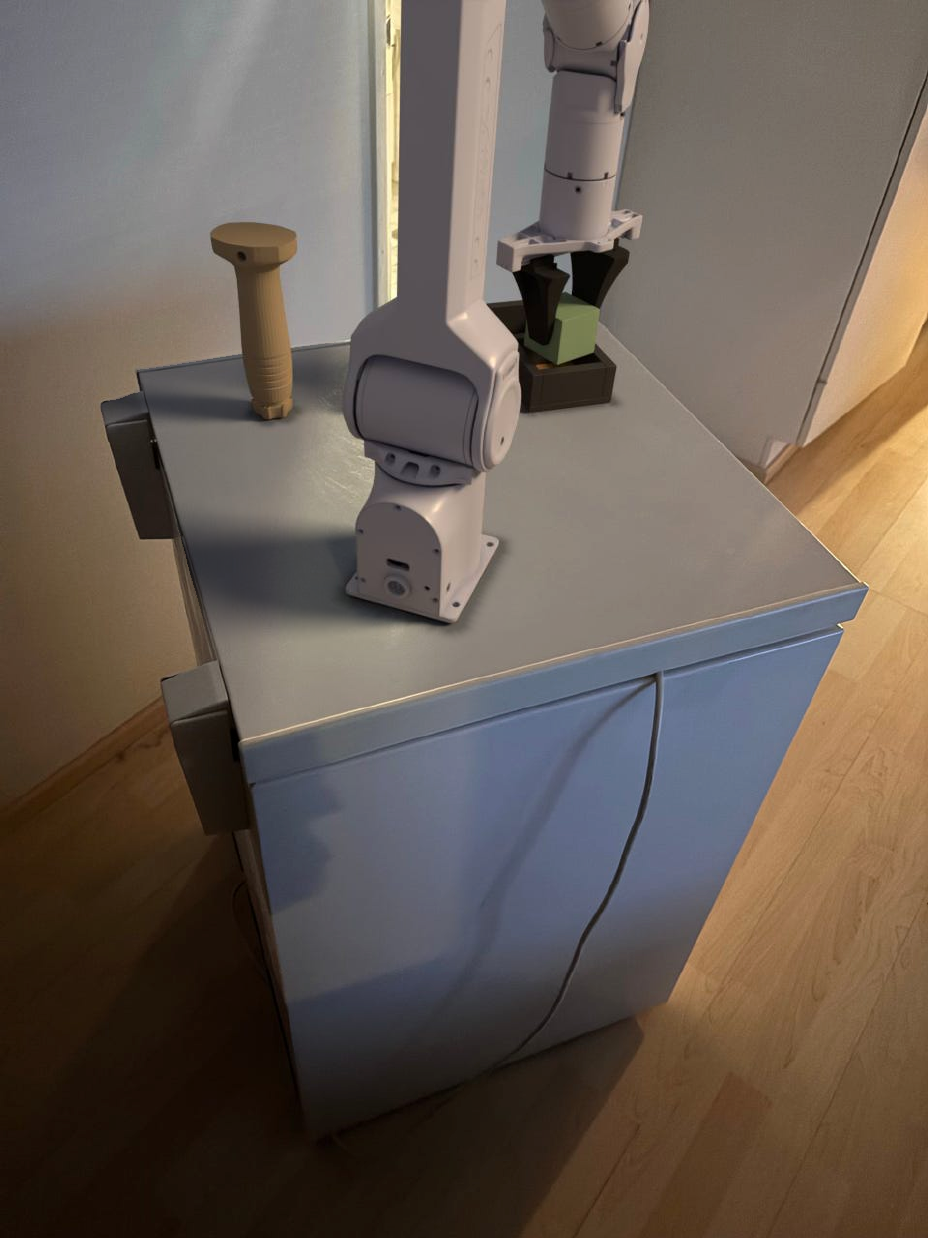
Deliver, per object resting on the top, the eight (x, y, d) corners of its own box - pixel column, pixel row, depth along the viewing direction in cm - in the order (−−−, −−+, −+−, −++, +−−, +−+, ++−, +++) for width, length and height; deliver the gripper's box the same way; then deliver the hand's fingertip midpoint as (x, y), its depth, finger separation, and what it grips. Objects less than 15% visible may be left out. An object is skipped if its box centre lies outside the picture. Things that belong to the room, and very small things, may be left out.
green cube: (594, 352, 80) (600, 309, 77) (557, 365, 78) (562, 321, 75) (560, 333, 83) (565, 291, 80) (523, 345, 80) (527, 302, 78)
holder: (529, 412, 79) (532, 375, 77) (475, 338, 89) (477, 303, 87) (610, 402, 81) (617, 365, 79) (548, 331, 91) (552, 296, 89)
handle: (298, 431, 75) (281, 251, 65) (227, 419, 76) (199, 239, 66) (318, 404, 78) (305, 228, 68) (250, 393, 79) (227, 218, 69)
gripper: (545, 199, 64) (527, 372, 74) (680, 169, 71) (649, 331, 80) (484, 172, 68) (474, 340, 78) (617, 146, 75) (594, 303, 84)
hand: (559, 333), depth 79 cm, fingers closed on green cube, 4 cm apart
